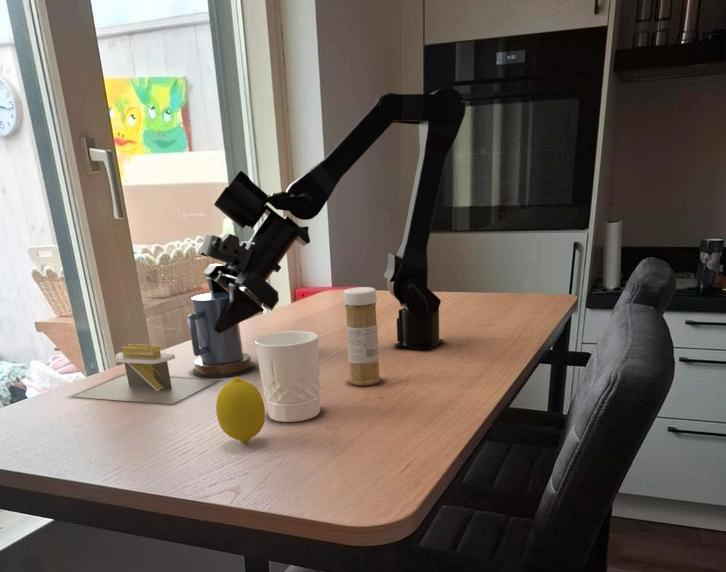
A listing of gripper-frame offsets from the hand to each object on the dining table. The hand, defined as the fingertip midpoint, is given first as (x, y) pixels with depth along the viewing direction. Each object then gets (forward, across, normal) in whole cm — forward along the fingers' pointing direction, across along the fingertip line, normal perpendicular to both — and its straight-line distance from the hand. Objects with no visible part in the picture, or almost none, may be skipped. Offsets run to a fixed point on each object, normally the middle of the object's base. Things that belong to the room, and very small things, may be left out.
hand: (208, 328), depth 111 cm
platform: (+14, +3, -3) cm, 14 cm away
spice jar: (-6, +22, +16) cm, 28 cm away
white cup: (+4, +29, +6) cm, 30 cm away
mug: (+4, 0, +6) cm, 7 cm away
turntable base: (+4, 0, +6) cm, 7 cm away
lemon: (+11, +35, -1) cm, 36 cm away
